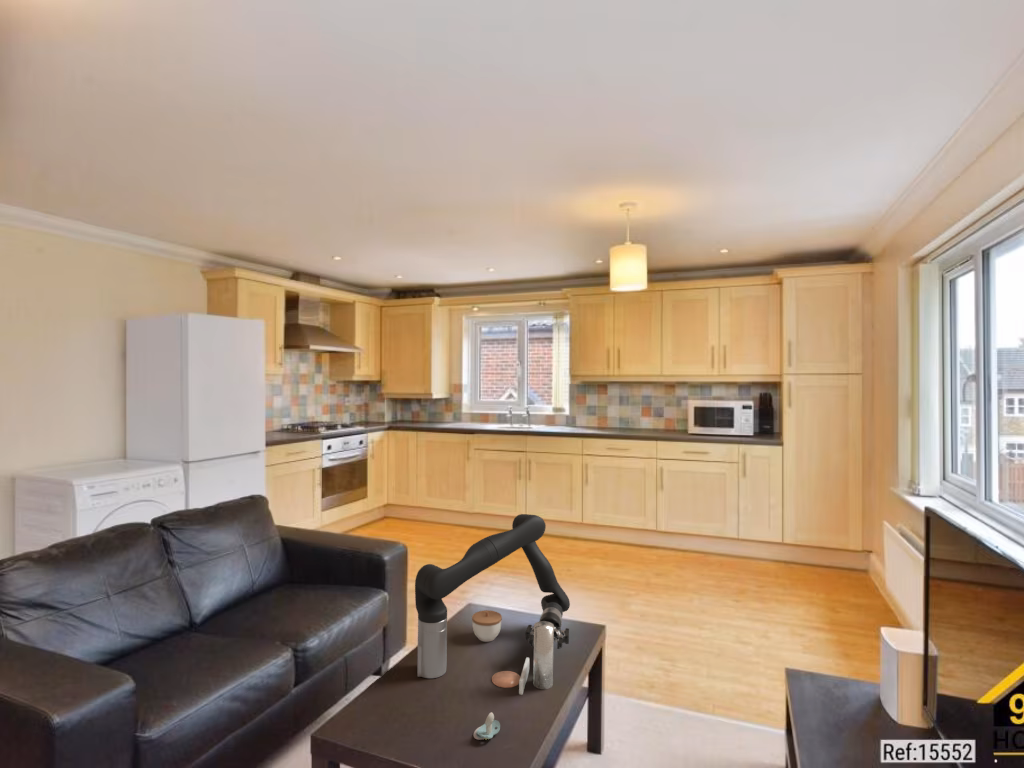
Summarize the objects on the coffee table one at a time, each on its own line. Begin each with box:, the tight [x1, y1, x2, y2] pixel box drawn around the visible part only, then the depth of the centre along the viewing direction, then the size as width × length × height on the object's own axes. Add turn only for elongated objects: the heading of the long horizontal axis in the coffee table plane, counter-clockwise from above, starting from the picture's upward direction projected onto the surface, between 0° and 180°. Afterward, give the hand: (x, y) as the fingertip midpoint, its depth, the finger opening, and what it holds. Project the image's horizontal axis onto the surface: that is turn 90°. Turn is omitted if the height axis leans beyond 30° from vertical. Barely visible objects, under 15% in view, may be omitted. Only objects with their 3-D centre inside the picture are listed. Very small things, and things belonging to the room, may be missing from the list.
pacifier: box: [472, 712, 501, 741], centre depth 143 cm, size 7×6×6 cm
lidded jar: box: [471, 609, 503, 643], centre depth 196 cm, size 11×11×9 cm
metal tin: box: [532, 620, 554, 690], centre depth 167 cm, size 6×6×18 cm
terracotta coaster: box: [491, 670, 521, 689], centre depth 169 cm, size 9×9×1 cm
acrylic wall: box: [518, 656, 531, 696], centre depth 168 cm, size 14×1×4 cm, turn 170°
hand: (544, 644), depth 171 cm, fingers open, 8 cm apart
